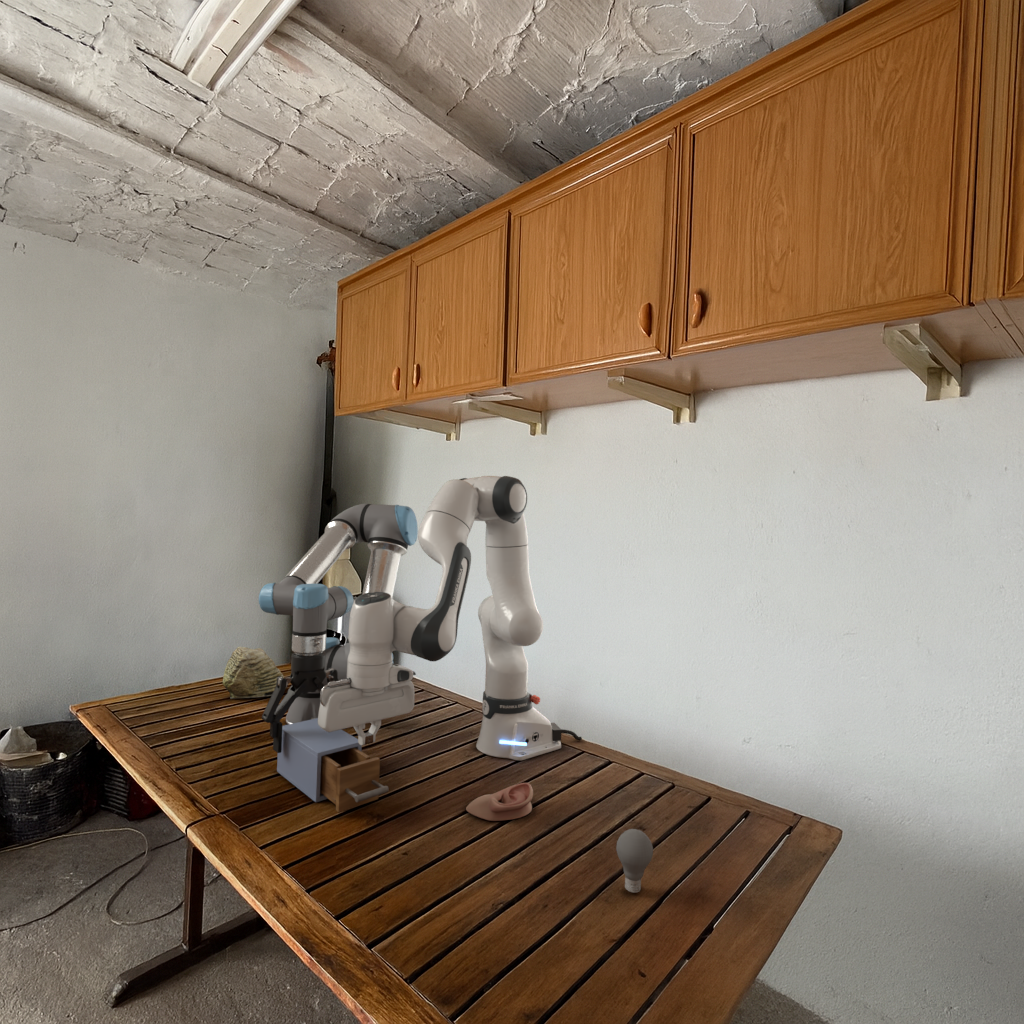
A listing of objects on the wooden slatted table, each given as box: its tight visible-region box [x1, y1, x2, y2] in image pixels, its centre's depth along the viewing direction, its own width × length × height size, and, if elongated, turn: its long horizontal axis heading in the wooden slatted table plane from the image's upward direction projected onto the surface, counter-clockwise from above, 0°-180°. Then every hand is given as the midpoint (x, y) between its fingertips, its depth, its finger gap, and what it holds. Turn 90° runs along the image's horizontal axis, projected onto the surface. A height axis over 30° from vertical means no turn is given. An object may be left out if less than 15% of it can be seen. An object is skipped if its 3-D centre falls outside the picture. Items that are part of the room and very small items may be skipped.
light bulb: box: [615, 828, 654, 894], centre depth 106 cm, size 6×6×10 cm
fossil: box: [222, 646, 287, 699], centre depth 198 cm, size 9×18×15 cm, turn 132°
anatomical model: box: [465, 782, 534, 822], centre depth 132 cm, size 13×4×12 cm
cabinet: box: [276, 718, 363, 803], centre depth 142 cm, size 19×10×10 cm, turn 44°
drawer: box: [320, 747, 389, 813], centre depth 133 cm, size 23×9×8 cm, turn 44°
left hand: (305, 743), depth 146 cm, fingers open, 13 cm apart
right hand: (366, 743), depth 127 cm, fingers closed
